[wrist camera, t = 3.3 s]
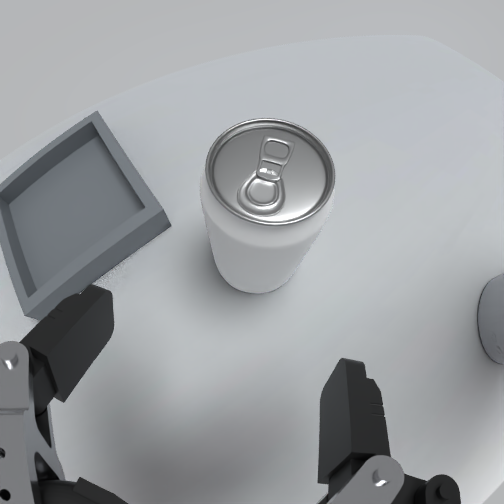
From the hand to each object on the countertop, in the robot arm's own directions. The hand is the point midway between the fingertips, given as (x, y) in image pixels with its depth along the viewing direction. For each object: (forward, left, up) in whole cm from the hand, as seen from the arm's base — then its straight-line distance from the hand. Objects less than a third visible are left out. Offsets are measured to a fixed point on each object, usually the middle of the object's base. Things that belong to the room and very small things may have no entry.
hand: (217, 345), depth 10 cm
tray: (+5, -18, -13) cm, 22 cm away
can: (-6, -5, -13) cm, 15 cm away
